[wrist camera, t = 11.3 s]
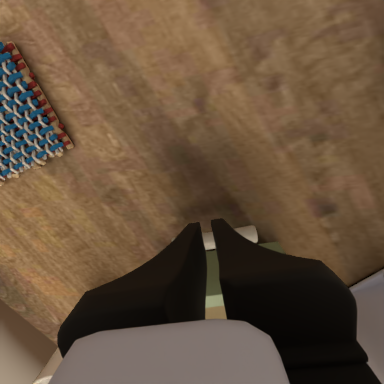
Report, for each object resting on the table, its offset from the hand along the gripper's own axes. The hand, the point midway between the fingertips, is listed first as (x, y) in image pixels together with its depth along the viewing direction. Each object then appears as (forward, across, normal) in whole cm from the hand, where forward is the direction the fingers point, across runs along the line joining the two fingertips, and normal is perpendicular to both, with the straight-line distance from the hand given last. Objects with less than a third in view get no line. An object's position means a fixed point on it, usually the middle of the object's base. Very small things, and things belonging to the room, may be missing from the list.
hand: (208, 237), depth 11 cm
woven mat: (+11, +18, -10) cm, 23 cm away
